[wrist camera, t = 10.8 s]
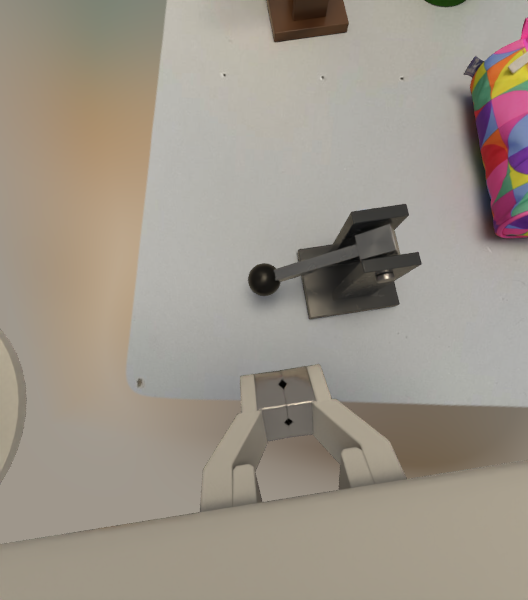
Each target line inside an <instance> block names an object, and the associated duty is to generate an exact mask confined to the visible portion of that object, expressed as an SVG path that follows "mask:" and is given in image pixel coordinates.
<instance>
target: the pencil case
mask: <svg viewBox="0 0 528 600" xmlns="http://www.w3.org/2000/svg"><path fill="white" fill-rule="evenodd" d="M464 75H469V76H471V77H472V81H471V85H470V90H471V94H472V100H473V105H474V114H475V118H476V127H477V131H478V136H479V145H480V150H481V155H482V161H483V165H484V168H485V171H486V183H487V188H488V192H489V195H490V198H491V210H492V214H493V218H494V219H493V227H494V230H495V234H496V235H497V236H500V237H502V238H523V237H528V18H526V19H525V21H524V24H523V29H522V35H521V39H520V40H518V41H515V42H513V43H511V44H509V45H507V46H505V47H503V48H501V49H500V50H498V51H496V52H495V53H494V54H492V55H491V56H490V57H489V58H488V59H487V60H486V61H485V62H484V61H482V60H481V59H479V58H478V57H476V56H475V57H474V59H473V60H472V61H471V63H470V64H469V66H468V67H467V69H466V71H465V73H464Z"/></svg>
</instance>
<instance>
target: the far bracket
mask: <svg viewBox="0 0 528 600" xmlns="http://www.w3.org/2000/svg"><path fill="white" fill-rule="evenodd" d="M266 1H267V6H268V11H269V16H270V22H271V27H272V32H273V38H274V42H278V41H285V40H292V39H299V38H307V37H314V36H321V35H328V34H335V33H343V32H347V28H348V24H349V22H348V18H347V14H346V10H345V6H344V2H343V0H266Z"/></svg>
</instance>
